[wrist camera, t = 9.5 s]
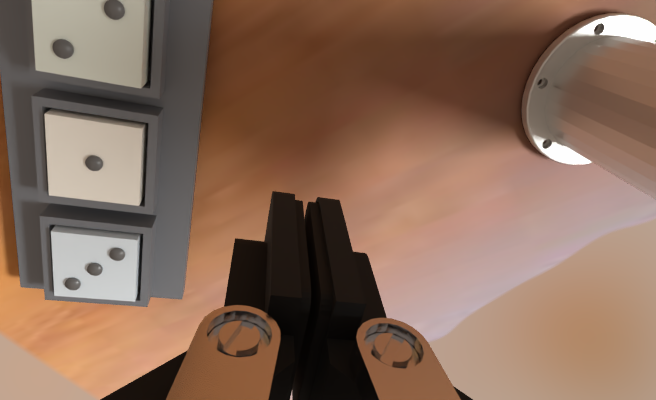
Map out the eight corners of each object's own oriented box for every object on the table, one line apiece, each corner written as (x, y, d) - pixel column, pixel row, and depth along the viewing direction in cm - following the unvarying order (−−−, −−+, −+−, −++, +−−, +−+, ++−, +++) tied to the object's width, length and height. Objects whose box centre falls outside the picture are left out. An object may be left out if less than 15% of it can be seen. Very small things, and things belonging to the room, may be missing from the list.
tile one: (148, 119, 32) (141, 129, 30) (144, 193, 35) (138, 207, 33) (56, 105, 31) (43, 114, 29) (59, 183, 34) (47, 196, 32)
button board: (216, -30, 30) (212, -29, 27) (184, 288, 42) (178, 314, 39) (-2, -81, 28) (-34, -87, 24) (28, 276, 39) (9, 302, 36)
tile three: (143, 226, 36) (137, 241, 34) (140, 286, 39) (134, 303, 37) (61, 217, 35) (49, 232, 33) (63, 280, 37) (53, 297, 36)
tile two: (152, -16, 28) (144, -14, 26) (147, 81, 30) (140, 89, 28) (43, -40, 26) (27, -40, 25) (48, 63, 29) (34, 71, 27)
